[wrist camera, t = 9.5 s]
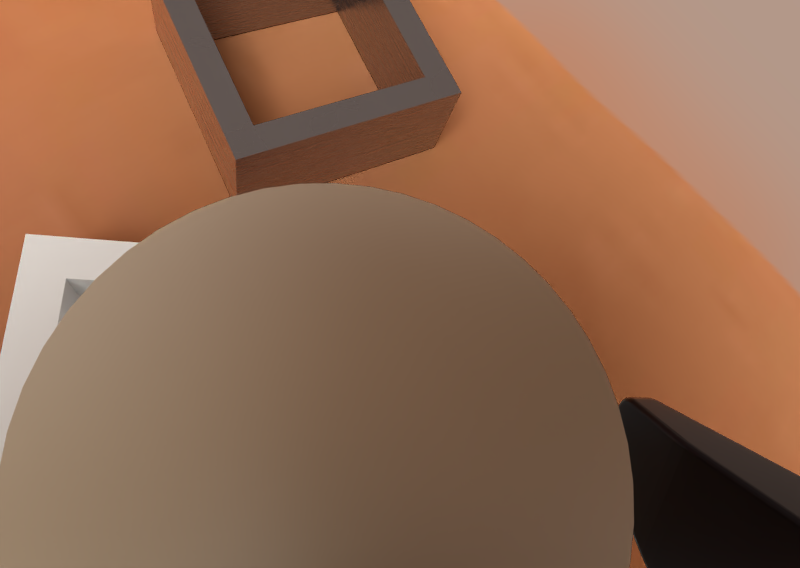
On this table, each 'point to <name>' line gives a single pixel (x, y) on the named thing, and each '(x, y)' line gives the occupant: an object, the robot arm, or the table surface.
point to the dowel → (317, 402)
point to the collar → (320, 127)
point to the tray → (45, 303)
